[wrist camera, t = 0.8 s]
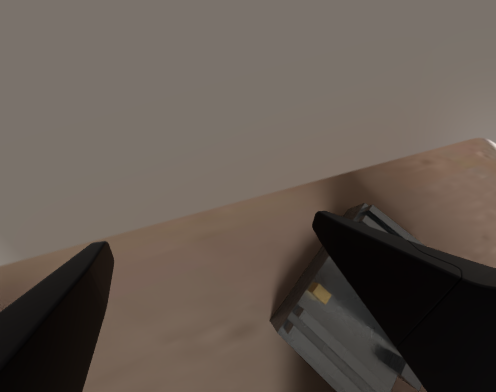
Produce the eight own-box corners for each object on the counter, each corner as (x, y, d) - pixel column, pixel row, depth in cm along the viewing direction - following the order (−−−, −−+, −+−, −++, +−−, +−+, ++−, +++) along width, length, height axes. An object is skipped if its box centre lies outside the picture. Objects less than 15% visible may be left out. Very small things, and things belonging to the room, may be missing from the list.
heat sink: (418, 266, 22) (465, 269, 18) (353, 403, 17) (395, 452, 13) (348, 209, 23) (376, 198, 19) (269, 320, 19) (282, 340, 14)
